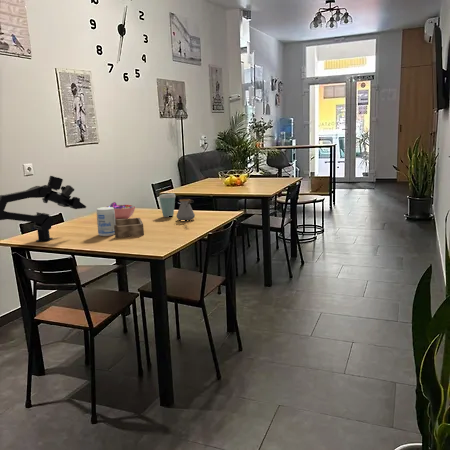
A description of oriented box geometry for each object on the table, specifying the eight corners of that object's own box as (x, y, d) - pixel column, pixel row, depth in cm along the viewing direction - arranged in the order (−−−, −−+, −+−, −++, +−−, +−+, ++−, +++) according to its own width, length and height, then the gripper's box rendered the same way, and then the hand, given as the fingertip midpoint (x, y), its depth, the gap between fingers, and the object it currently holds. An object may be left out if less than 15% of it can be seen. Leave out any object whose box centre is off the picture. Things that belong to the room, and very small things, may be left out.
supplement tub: (98, 237, 242) (96, 210, 239) (98, 233, 250) (95, 207, 247) (117, 235, 244) (114, 208, 241) (115, 231, 253) (113, 206, 250)
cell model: (130, 222, 279) (128, 204, 276) (100, 222, 282) (98, 204, 280) (140, 217, 295) (138, 200, 293) (111, 217, 299) (110, 200, 296)
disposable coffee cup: (157, 217, 290) (156, 194, 286) (164, 214, 300) (163, 192, 297) (172, 218, 287) (171, 194, 283) (179, 215, 297) (177, 192, 293)
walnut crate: (115, 237, 239) (114, 225, 237) (113, 229, 258) (112, 218, 257) (144, 235, 243) (143, 222, 241) (140, 227, 262) (139, 216, 261)
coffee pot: (174, 219, 283) (173, 195, 280) (192, 217, 287) (190, 194, 283) (183, 225, 263) (182, 200, 260) (202, 223, 267) (201, 198, 264)
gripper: (69, 184, 236) (94, 194, 247) (53, 182, 248) (78, 191, 260) (62, 204, 234) (88, 213, 245) (46, 201, 247) (72, 210, 258)
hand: (81, 206), depth 252 cm, fingers open, 9 cm apart
